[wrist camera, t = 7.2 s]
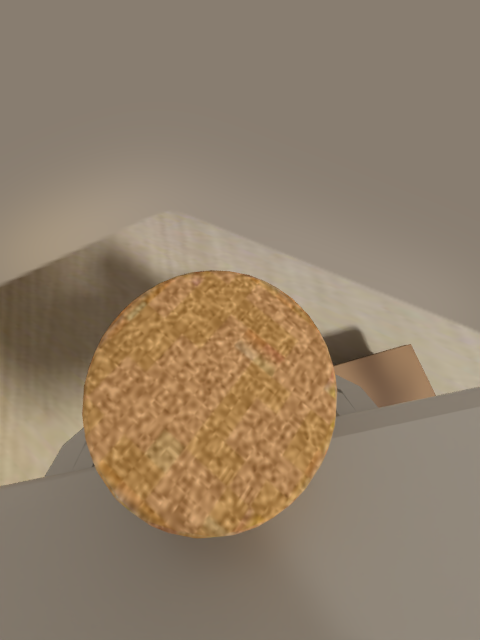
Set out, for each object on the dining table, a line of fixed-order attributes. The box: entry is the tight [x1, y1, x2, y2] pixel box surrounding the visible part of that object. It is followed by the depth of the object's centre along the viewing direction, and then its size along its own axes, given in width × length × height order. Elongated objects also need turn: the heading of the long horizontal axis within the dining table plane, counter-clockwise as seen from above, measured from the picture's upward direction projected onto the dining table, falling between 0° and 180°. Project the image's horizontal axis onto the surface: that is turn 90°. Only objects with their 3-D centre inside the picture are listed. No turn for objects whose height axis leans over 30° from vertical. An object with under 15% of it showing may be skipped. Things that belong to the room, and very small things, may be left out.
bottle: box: [82, 270, 337, 539], centre depth 11 cm, size 6×6×15 cm
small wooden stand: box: [333, 344, 436, 408], centre depth 20 cm, size 11×11×4 cm
